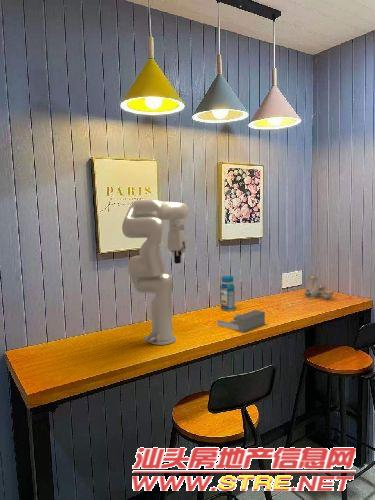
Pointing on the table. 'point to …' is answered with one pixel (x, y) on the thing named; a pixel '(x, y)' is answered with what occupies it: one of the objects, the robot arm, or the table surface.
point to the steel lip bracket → (245, 321)
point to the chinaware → (316, 289)
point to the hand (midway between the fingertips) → (177, 263)
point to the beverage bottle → (227, 294)
